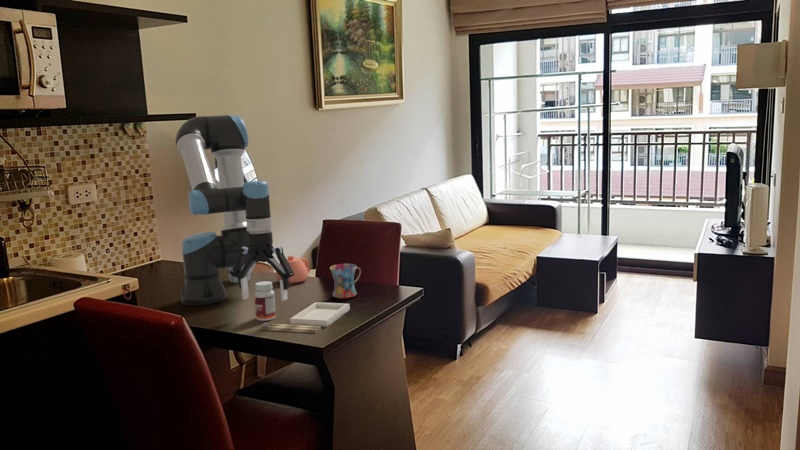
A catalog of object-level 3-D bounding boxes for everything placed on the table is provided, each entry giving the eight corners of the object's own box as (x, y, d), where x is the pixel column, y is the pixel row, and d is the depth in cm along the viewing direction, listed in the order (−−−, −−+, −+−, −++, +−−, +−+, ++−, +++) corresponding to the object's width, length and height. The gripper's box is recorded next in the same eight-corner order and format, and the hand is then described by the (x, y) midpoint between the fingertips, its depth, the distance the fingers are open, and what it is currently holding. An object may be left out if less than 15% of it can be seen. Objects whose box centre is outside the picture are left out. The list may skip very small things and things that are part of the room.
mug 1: (220, 282, 252) (218, 257, 251) (247, 274, 265) (245, 250, 264) (240, 285, 247) (238, 259, 246) (266, 276, 260) (264, 251, 259)
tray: (290, 325, 194) (290, 318, 194) (315, 308, 211) (315, 302, 211) (327, 327, 191) (327, 320, 191) (349, 309, 208) (349, 303, 208)
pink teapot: (270, 282, 250) (268, 256, 248) (301, 275, 259) (299, 250, 257) (286, 287, 241) (284, 260, 239) (318, 280, 249) (316, 254, 248)
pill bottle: (252, 319, 202) (249, 283, 200) (267, 314, 207) (265, 279, 205) (264, 322, 198) (261, 286, 196) (280, 317, 203) (277, 282, 201)
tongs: (260, 329, 191) (260, 325, 191) (265, 326, 194) (265, 322, 194) (316, 333, 186) (316, 329, 186) (321, 329, 189) (320, 325, 189)
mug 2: (341, 301, 218) (339, 271, 216) (326, 296, 225) (324, 267, 223) (369, 294, 225) (368, 264, 224) (354, 290, 232) (352, 261, 231)
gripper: (217, 233, 198) (223, 301, 201) (290, 233, 191) (295, 303, 194) (230, 229, 205) (236, 295, 208) (301, 229, 198) (306, 297, 201)
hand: (264, 299), depth 201 cm, fingers open, 13 cm apart
